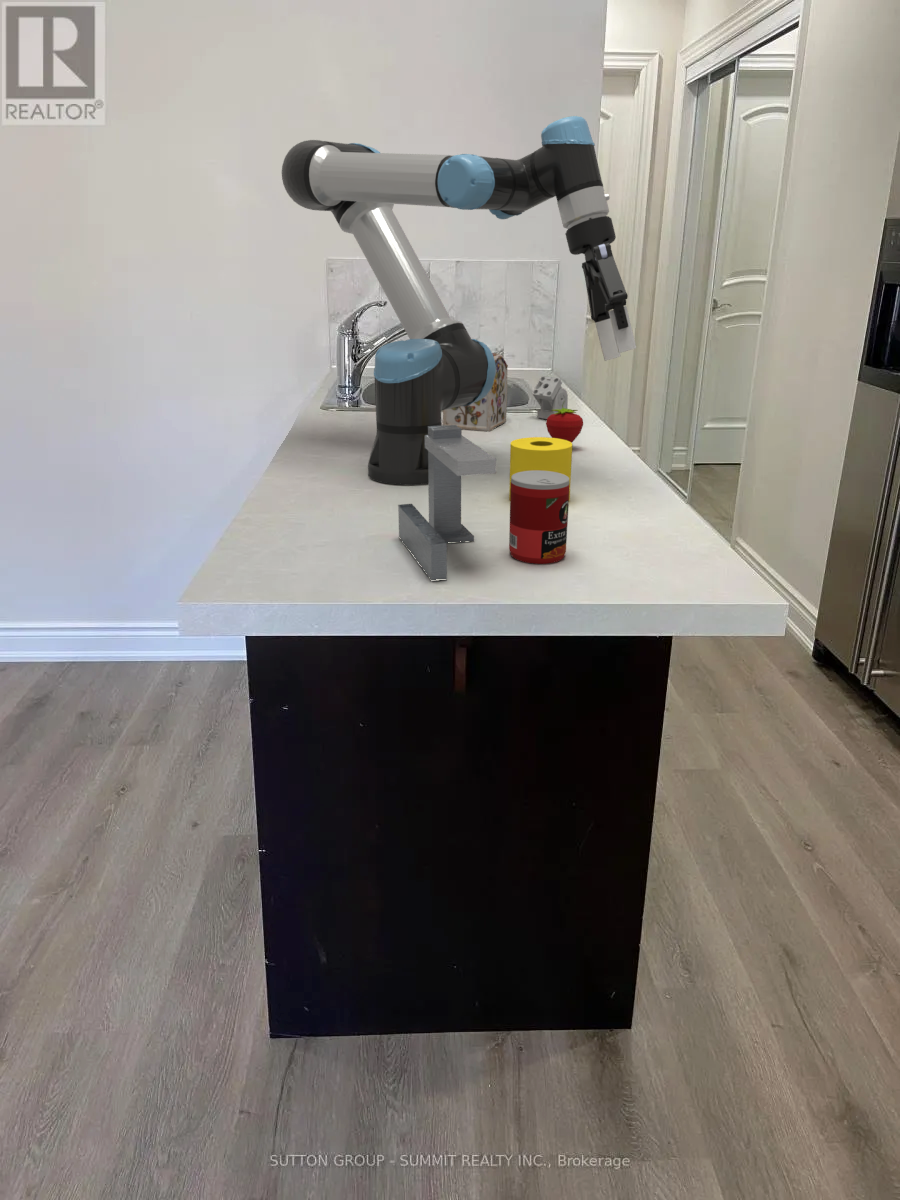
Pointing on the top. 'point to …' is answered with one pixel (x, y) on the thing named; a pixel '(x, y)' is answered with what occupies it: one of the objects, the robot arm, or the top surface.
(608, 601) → the top surface
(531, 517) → the canned food
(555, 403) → the mechanical component
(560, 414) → the strawberry
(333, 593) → the top surface
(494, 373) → the robot arm
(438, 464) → the bracket
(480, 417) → the white patterned box
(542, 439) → the yellow toilet paper roll
